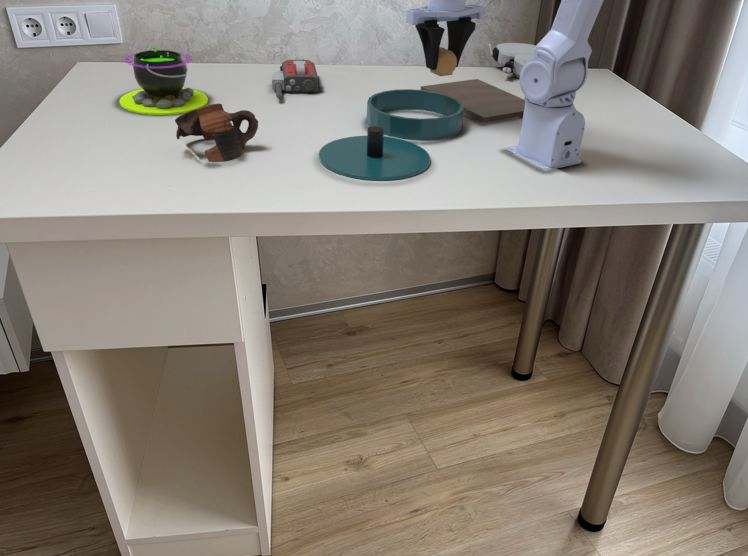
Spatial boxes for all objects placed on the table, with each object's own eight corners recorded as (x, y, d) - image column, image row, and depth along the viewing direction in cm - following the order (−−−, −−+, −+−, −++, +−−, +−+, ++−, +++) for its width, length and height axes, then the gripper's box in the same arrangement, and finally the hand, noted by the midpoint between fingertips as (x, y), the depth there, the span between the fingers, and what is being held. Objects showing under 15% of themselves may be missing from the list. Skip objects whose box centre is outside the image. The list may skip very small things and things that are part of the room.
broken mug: (192, 173, 100) (167, 116, 97) (193, 177, 108) (170, 125, 106) (270, 144, 102) (248, 88, 100) (265, 151, 111) (244, 99, 109)
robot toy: (555, 86, 147) (538, 62, 158) (560, 64, 144) (542, 41, 155) (499, 85, 146) (485, 60, 157) (502, 63, 143) (488, 39, 154)
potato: (460, 76, 118) (462, 51, 115) (441, 79, 116) (443, 53, 113) (441, 68, 121) (443, 43, 119) (422, 70, 119) (424, 45, 117)
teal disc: (451, 172, 104) (454, 139, 101) (353, 192, 96) (354, 157, 93) (392, 136, 115) (393, 105, 112) (300, 151, 107) (298, 118, 104)
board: (542, 114, 129) (543, 107, 128) (483, 124, 122) (484, 117, 122) (476, 84, 142) (477, 78, 141) (420, 92, 136) (420, 86, 135)
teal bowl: (479, 135, 118) (482, 111, 116) (399, 149, 110) (401, 124, 108) (426, 106, 129) (428, 85, 126) (350, 118, 121) (350, 95, 119)
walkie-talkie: (271, 74, 140) (273, 105, 124) (269, 50, 137) (272, 80, 122) (314, 74, 142) (322, 105, 126) (314, 51, 139) (322, 80, 123)
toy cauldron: (187, 119, 116) (179, 49, 110) (103, 109, 118) (89, 40, 111) (220, 93, 128) (214, 29, 122) (143, 84, 130) (133, 21, 123)
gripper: (470, -29, 116) (461, 57, 124) (397, -26, 109) (393, 65, 117) (497, -21, 111) (486, 67, 119) (423, -18, 104) (416, 76, 112)
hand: (442, 67), depth 118 cm, fingers closed on potato, 4 cm apart
